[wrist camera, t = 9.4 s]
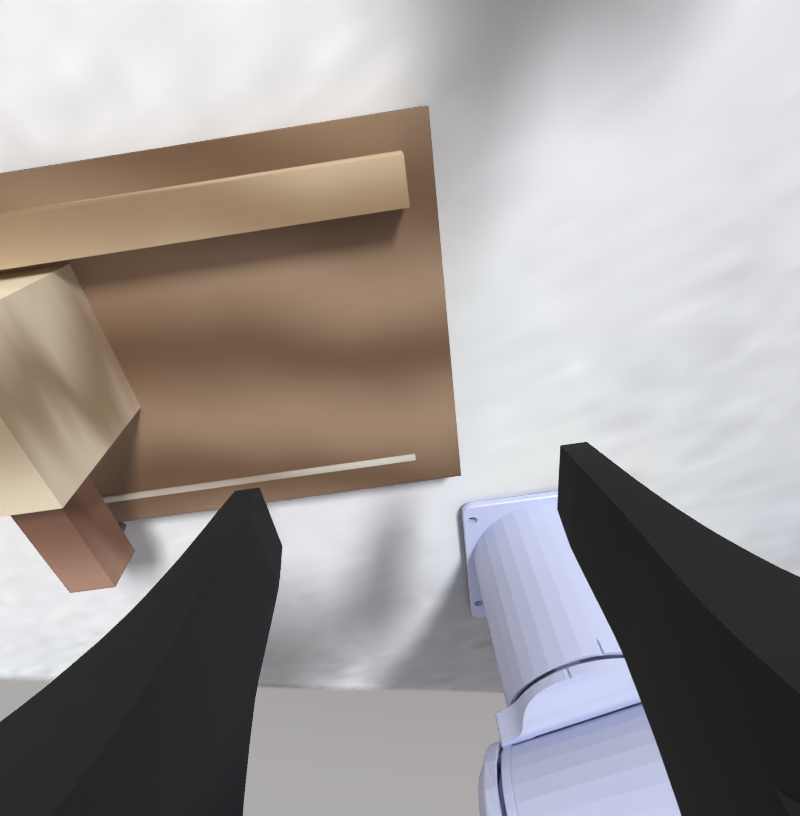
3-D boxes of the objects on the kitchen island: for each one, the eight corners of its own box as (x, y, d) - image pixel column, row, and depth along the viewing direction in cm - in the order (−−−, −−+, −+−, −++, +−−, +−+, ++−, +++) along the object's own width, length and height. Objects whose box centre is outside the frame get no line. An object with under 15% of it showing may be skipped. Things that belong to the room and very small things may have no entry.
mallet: (184, 496, 23) (131, 608, 18) (102, 508, 23) (25, 622, 18) (69, 263, 17) (-60, 329, 12) (-41, 280, 17) (-215, 353, 12)
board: (456, 456, 24) (466, 497, 22) (68, 509, 25) (33, 555, 22) (423, 106, 16) (433, 105, 14) (-145, 196, 17) (-236, 211, 14)
